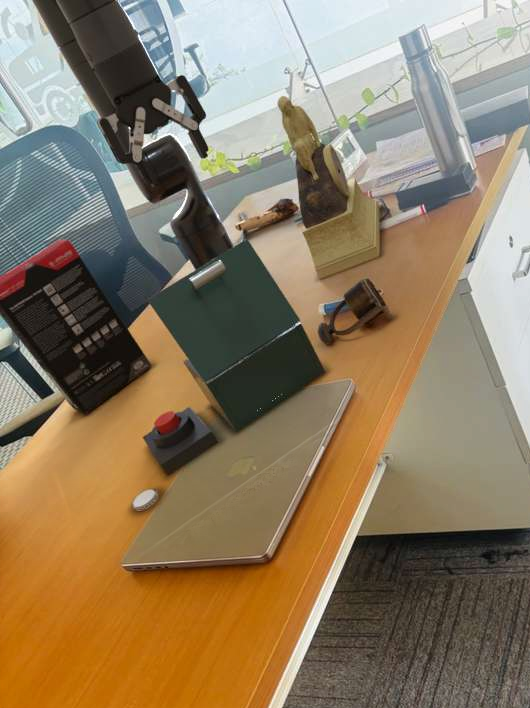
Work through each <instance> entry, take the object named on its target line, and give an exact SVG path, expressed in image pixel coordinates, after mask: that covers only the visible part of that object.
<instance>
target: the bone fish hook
mask: <svg viewBox="0 0 530 708" xmlns="http://www.w3.org/2000/svg"><path fill="white" fill-rule="evenodd" d="M298 211H300V206H299V205H298V204H297V203H295V202H294V201H293V198H280V199H279V200H278V201H277V202H276V203H274V204H273V205H272V206H271V207H270V208H268V209H267V210H266V211H265V212H263V213H260V214H257V215H255V216H253V217H250V218H246V219H245V221H242V220H241V221H238V222H237V223H236V224H234V228H235V230H237V231H243V230H246V231H247V232H248V231H252V230H255V229H259V228H263V227H266V226H268V225H270V224H273V223H277V222H279V221H281V220H283V219H286V218H289V217H291V216H292V215H294V214H295V213H297V212H298Z"/></svg>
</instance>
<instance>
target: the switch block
mask: <svg viewBox="0 0 530 708" xmlns="http://www.w3.org/2000/svg"><path fill="white" fill-rule="evenodd" d="M175 414H176V415H177V416H178V418H179V419H180V421H181V422H180V424H179V425H178V426H177V427H176V428H175V429H173V430H172V431H170V432H168V433H165V434H160V432H159V431H158V429H157V428H156V427H155V426H154V427H152V430H150V431H149V432H148V433H147V434H145V435H143V436H142V439H143V441H144V442H145V444H146V445H147V447H148V448H149V450H150V451H151V453H152V455H153V456H154V458H155V459H156V461H157V463H158V465H159V466H160V468H162V470H163V471H164V473H166V475H167V476H170V475H172V474H173V473H175V472H176V471H177V470H179V469H181V468H182V467H183V466H185V465H186V464H188V463H190V462H191V461H192V460H194V459H196V458H197V457H199V456H200V455H202V454H203V453H205V452H206V451H208V450H209V449H211V448H212V447H214V446H215V445H217V444H218V443H219V441H218V439H217V437H216V436H215V435H214V433H213V432H212V429H210V428H209V427H208V426H207V424H206V423H205V422H204V421H203V419H201V418H200V416H199V415H198V414H197V413H196V411H194V409H192V407H191V406H188V407H186V408H185V409H183V410H182V411H178V412H175Z"/></svg>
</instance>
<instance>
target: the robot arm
mask: <svg viewBox="0 0 530 708" xmlns="http://www.w3.org/2000/svg"><path fill="white" fill-rule="evenodd" d="M31 1H32V3H33V5H34V7H35V8H36V10H37V12H38V14H39V16H40V18H41V19H42V21H43V23H44V25H45V26H46V28H47V30H48V32H49V34H50V36H51V37H52V39H53V41H54V43H55V44H56V47H57V48H58V50H59V52H60V53H61V55H62V56H63V58H64V60H65V62H66V63H67V66H68V67H69V69H70V70H71V72H72V73H73V76H74V77H75V78H76V80H77V81H78V83H79V85H80V86H81V88H82V90H83V91H84V93H85V95H86V96H87V98H88V99H89V101H90V103H91V104H92V106H93V108H94V109H95V111H96V113H97V114H98V116H99V118H98V119H97V120H96V124H97V126H98V129H99V130H100V132H101V134H102V136H103V138H104V139H105V142H106V143H107V145H108V147H109V149H110V151H111V153H112V155H113V157H114V158H115V161H116V162H117V163H119V164H122V165H125V166H126V168H127V169H128V172H129V173H130V175H131V178H132V179H133V181H134V183H135V185H136V186H137V188H138V189H139V191H140V192H141V194H142V195H143V196H144V198H145V199H146V200H147V201H148V202H149V203H150V204H153V205H157V204H161V203H163V202H164V201H166V200H168V199H170V198H172V197H173V196H175V195H177V194H180V192H182V191H185V190H186V196H185V199H184V201H183V204H181V205H182V206H181V207H180V208H179V210H178V211H177V212H176V213H175V214H174V215H173V217H172V218H171V220H170V229H171V231H172V232H173V234H174V236H175V237H176V239H177V241H178V242H179V244H180V245H181V248H182V249H183V251H184V253H185V254H186V256H187V258H188V260H189V262H190V263H191V265H192V267H193V268H194V271H195V270H196V269H198V268H200V267H201V266H203V265H205V264H206V263H208V262H209V261H211V260H213V259H214V258H216V257H218V256H219V255H221V254H223V253H224V252H226V251H228V250H229V249H231V248H232V247H234V246H235V244H234V242H233V240H232V239H231V237H230V235H229V233H228V230H227V229H226V228H225V226H224V223H223V221H222V220H221V218H220V215H219V214H218V212H217V211H216V209H215V206H214V205H213V203H212V202H211V200H210V198H209V195H208V194H207V192H206V190H205V188H204V186H203V184H202V182H201V180H200V178H199V176H198V173H197V171H196V169H195V167H194V165H193V163H192V161H191V158H190V156H189V154H188V152H187V151H186V149H185V147H184V146H183V144H182V143H181V141H180V140H179V138H177V136H175V135H174V134H172V133H168V134H164V135H162V136H160V137H159V138H156V139H155V140H153V141H151V142H149V143H147V144H146V145H144V136H145V135H151V134H153V133H155V132H156V130H157V129H159V128H162V127H165V126H167V125H169V122H170V121H171V122H173V123H175V124H177V125H179V126H181V127H182V128H184V129H187V131H188V132H187V135H188V137H189V139H190V141H191V142H192V145H193V147H194V148H195V151H196V152H197V154H198V156H199V158H200V159H202V160H203V159H206V158H208V157H209V155H208V153H207V152H209V145H208V144H207V141H206V140H205V138H204V135H203V134H202V132H201V130H200V125H201V123H202V122H203V121H204V120H205V119H206V118H207V112H206V111H205V109H204V108H203V106H202V105H201V102H200V101H199V99H198V97H197V94H196V93H195V91H194V90H193V87H192V86H191V84H190V82H189V81H188V79H187V77H186V75H184V74H180V75H175V76H174V77H173V80H171V81H169V82H168V83H165V82H164V81H163V80H162V78H161V76H160V74H159V72H158V70H157V68H156V66H155V64H154V63H153V61H152V59H151V57H150V55H149V52H148V50H147V49H146V47H145V45H144V43H143V41H142V39H141V38H140V34H139V32H138V30H137V28H136V27H135V26H134V23H133V22H132V20H131V18H130V17H129V15H128V14H127V12H126V10H124V9H125V8H123V5H121V3H120V1H119V0H31ZM172 92H173V93H175V95H176V96H177V97H182V99H183V101H184V103H185V104H186V106H187V108H188V109H189V111H190V114H191V115H190V116H189V117H188V115H185V114H184V113H183V112H181V111H179V110H178V109H176V108H174V107H173V106H172ZM241 213H242V215H243V217H244V220H246V218H245V215H244V214H243V212H242V211H241ZM238 215H239V217H240V219H241V222H242V221H244V220H242V217H241V215H240V213H239V211H238ZM247 232H248V231H246V230H242V237H241V240H240V243H241V242H242V241H244V240H246V239H247Z"/></svg>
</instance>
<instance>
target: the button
mask: <svg viewBox="0 0 530 708" xmlns="http://www.w3.org/2000/svg"><path fill="white" fill-rule="evenodd" d="M175 413H176V412H175V411H172V410H171V411H167V412H164V413H162V414H161V415H159V416H158V417H157V418H156V419H155V420H154V422H153V426H154V427H156V428H157V429H158V431H159V432H160V434H165V433H168V432H170V431H172V430H173V429H175V428H176V427H177V426H178V425H179V424H180V422H181V421H180V419H179V418H178V416H177V415H176V414H175Z"/></svg>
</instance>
